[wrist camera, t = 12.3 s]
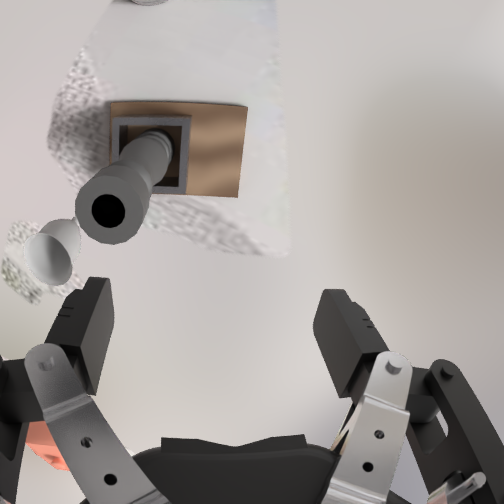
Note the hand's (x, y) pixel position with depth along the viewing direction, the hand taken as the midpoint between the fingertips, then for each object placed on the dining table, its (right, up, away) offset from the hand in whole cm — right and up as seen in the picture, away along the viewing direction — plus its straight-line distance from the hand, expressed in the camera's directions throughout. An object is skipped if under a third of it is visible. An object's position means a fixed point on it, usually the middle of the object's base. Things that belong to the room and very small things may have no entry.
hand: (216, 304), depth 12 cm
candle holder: (-13, +17, +33) cm, 39 cm away
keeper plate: (-10, +17, +35) cm, 40 cm away
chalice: (-25, +10, +37) cm, 46 cm away
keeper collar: (-13, +17, +33) cm, 39 cm away
